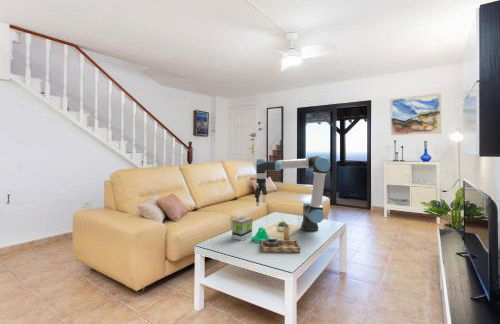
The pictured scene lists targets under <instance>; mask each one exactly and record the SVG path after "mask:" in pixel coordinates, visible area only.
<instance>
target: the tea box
mask: <svg viewBox="0 0 500 324" xmlns="http://www.w3.org/2000/svg"><path fill="white" fill-rule="evenodd" d="M231 227H232V228H231V238H232V239H234V240H237V241H241V242H242V241H244V240H246V239H248V238H250V237H253V218H252V217H247V216H240V217H238V218H235V219H233V220H232V224H231Z"/></svg>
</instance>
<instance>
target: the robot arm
mask: <svg viewBox="0 0 500 324" xmlns="http://www.w3.org/2000/svg"><path fill="white" fill-rule="evenodd" d="M255 164H256V166H255V167H256V168H255V169H256V170H255V171H256V173H255V175H256V177H255V178H256V179H255V180H256V181H255V182H256V184H257V185H256V186H255V187H256V188H255V194H254V198H255V207H260V205H261V203H260V199H261V198H260V196H261V193H262V203H263V204H264V203H265V204H266V203H267V195H268V191H267V184H266V182H267V179H266V177H267V171H268V172H270V171H271V172H273V171H274V172H275V171H276V172H278V171H281V170H283V169H303V168H306V169H311V170H312V173H313V174H314V175H313V181H312V191H311V201H310V202H306V203H303V205H302V222H301V225H300V229H301V231H304V232H309V233H312V232H313V233H314V232H318V231H319V226H318V225H319V223H321V222H323V220H324V218H325V214H324V206H323V205H322V204H323V194H324V187H325V178H326V175H328V170H330V168H331V161H330V159H328V157H325V156H321V155H315V156H310V157H305V158H295V159H294V158H293V159H279V160H278V159H276V160H271V159H270V160H267V161H266V158H259V159H258V158H257V159H256V163H255Z"/></svg>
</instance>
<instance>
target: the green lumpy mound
mask: <svg viewBox="0 0 500 324" xmlns="http://www.w3.org/2000/svg"><path fill="white" fill-rule="evenodd" d="M250 237H251V240H252V241H254V242H255V243H259V244H260V243H261V240H265V239H270V237H269V234H268V231H267V230H266V228H265V226H260V227H259V228H258V230H257V232H256V234H255V235H252V236H250Z"/></svg>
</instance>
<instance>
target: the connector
mask: <svg viewBox="0 0 500 324" xmlns="http://www.w3.org/2000/svg"><path fill="white" fill-rule="evenodd" d="M283 240H290V226H289V224H288V223H285V224H284V225H283Z"/></svg>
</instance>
